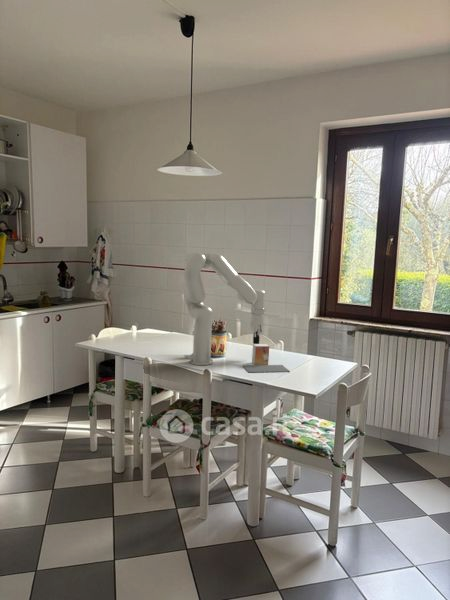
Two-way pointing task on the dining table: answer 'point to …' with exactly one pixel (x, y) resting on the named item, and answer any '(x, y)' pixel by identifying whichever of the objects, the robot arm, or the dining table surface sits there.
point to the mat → (265, 368)
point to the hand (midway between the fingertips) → (256, 343)
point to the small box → (260, 354)
